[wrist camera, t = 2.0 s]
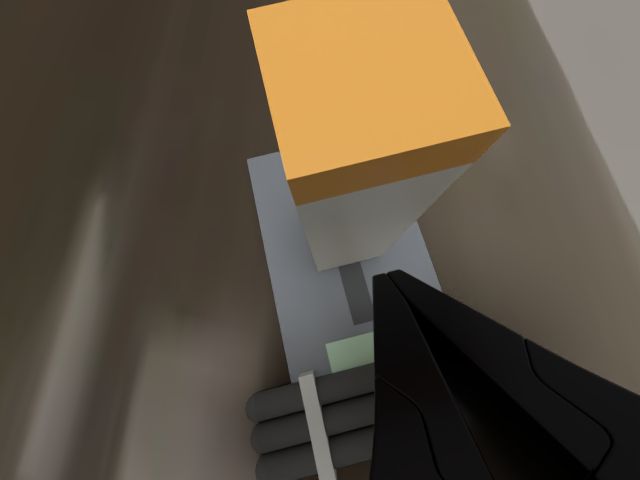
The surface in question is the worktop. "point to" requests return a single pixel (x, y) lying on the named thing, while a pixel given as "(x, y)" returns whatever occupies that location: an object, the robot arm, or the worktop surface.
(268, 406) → the cord bundle
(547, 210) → the worktop surface
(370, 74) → the orange-topped grey block
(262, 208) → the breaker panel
